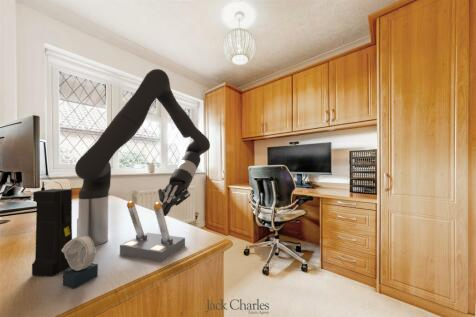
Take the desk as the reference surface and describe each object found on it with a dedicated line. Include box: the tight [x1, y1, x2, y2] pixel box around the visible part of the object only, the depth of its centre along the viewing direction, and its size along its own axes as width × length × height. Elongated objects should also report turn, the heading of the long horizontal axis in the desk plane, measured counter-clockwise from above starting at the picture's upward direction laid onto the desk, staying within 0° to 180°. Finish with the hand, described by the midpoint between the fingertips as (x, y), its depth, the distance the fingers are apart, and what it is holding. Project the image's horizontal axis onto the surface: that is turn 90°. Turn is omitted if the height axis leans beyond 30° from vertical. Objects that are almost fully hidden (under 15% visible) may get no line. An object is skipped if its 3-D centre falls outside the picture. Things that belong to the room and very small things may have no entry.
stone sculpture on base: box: [62, 236, 99, 289], centre depth 49 cm, size 6×8×11 cm
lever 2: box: [153, 202, 170, 243], centre depth 63 cm, size 2×2×14 cm
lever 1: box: [126, 200, 145, 239], centre depth 66 cm, size 2×2×14 cm
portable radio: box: [31, 181, 73, 278], centre depth 54 cm, size 8×6×25 cm
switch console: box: [119, 232, 186, 263], centre depth 66 cm, size 17×12×4 cm
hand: (162, 214), depth 63 cm, fingers closed
